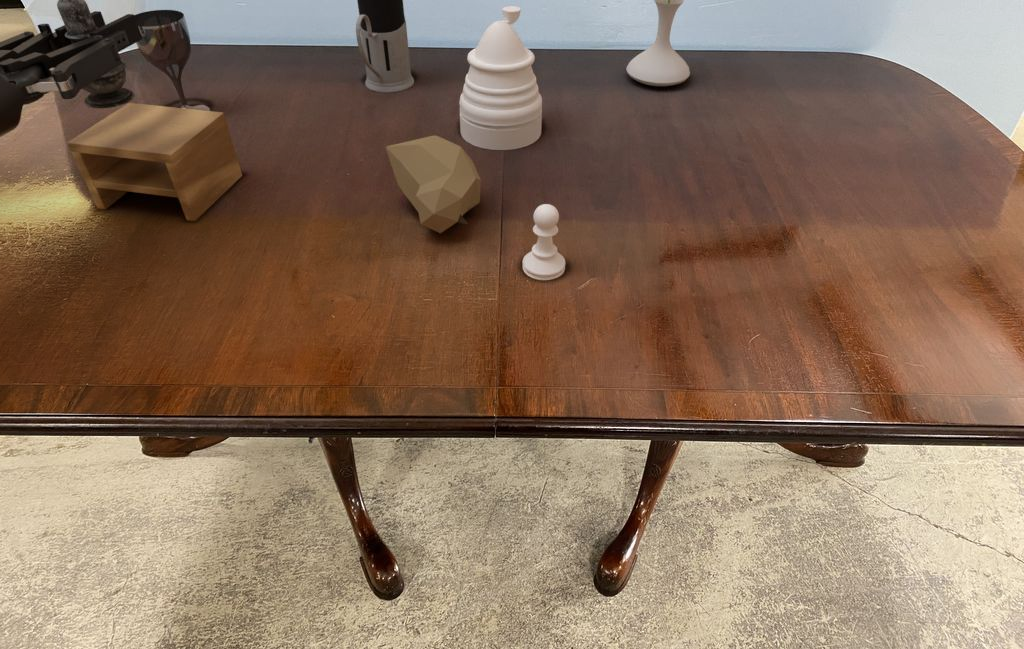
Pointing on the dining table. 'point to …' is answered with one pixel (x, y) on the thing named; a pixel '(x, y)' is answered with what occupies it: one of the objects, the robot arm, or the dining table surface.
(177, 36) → the wine glass
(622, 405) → the dining table surface
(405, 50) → the glass holder
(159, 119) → the shelf
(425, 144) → the low-poly potato
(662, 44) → the flower in vase
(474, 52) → the honey pot
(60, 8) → the grey chess piece
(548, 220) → the chess pawn
